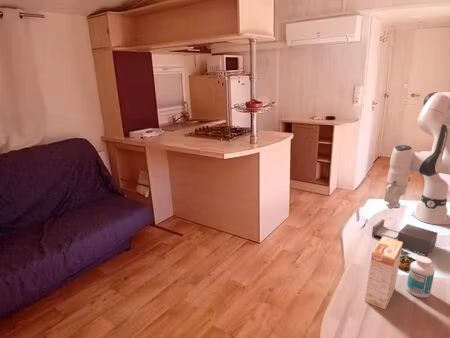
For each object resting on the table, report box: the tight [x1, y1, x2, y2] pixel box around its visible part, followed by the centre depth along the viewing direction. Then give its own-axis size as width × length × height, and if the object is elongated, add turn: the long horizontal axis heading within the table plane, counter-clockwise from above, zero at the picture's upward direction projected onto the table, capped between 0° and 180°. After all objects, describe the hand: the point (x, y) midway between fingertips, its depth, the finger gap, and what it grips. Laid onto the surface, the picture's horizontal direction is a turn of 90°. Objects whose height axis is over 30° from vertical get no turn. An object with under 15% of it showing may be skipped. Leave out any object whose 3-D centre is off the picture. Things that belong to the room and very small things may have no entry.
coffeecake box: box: [364, 236, 403, 310], centre depth 109 cm, size 15×7×20 cm, turn 141°
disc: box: [385, 201, 401, 209], centre depth 152 cm, size 6×6×2 cm
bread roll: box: [398, 254, 416, 273], centre depth 131 cm, size 11×11×5 cm
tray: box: [371, 218, 400, 240], centre depth 155 cm, size 13×13×6 cm
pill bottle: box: [406, 255, 435, 299], centre depth 112 cm, size 8×7×14 cm
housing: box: [397, 223, 439, 257], centre depth 147 cm, size 13×13×7 cm
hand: (393, 206), depth 152 cm, fingers closed on disc, 6 cm apart
